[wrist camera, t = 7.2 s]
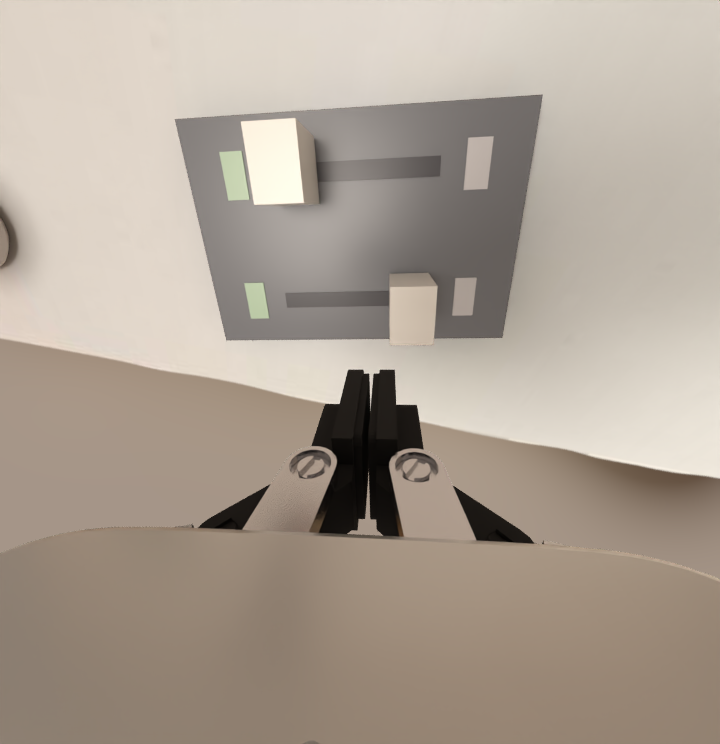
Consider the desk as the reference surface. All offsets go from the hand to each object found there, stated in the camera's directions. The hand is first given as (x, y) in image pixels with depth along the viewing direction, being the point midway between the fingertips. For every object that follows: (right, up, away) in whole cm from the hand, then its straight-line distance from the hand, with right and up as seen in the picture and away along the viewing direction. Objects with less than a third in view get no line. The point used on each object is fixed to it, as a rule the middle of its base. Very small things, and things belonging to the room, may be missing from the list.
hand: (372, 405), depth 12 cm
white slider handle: (+3, +7, +14) cm, 16 cm away
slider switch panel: (-1, +12, +15) cm, 19 cm away
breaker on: (-5, +15, +11) cm, 19 cm away
